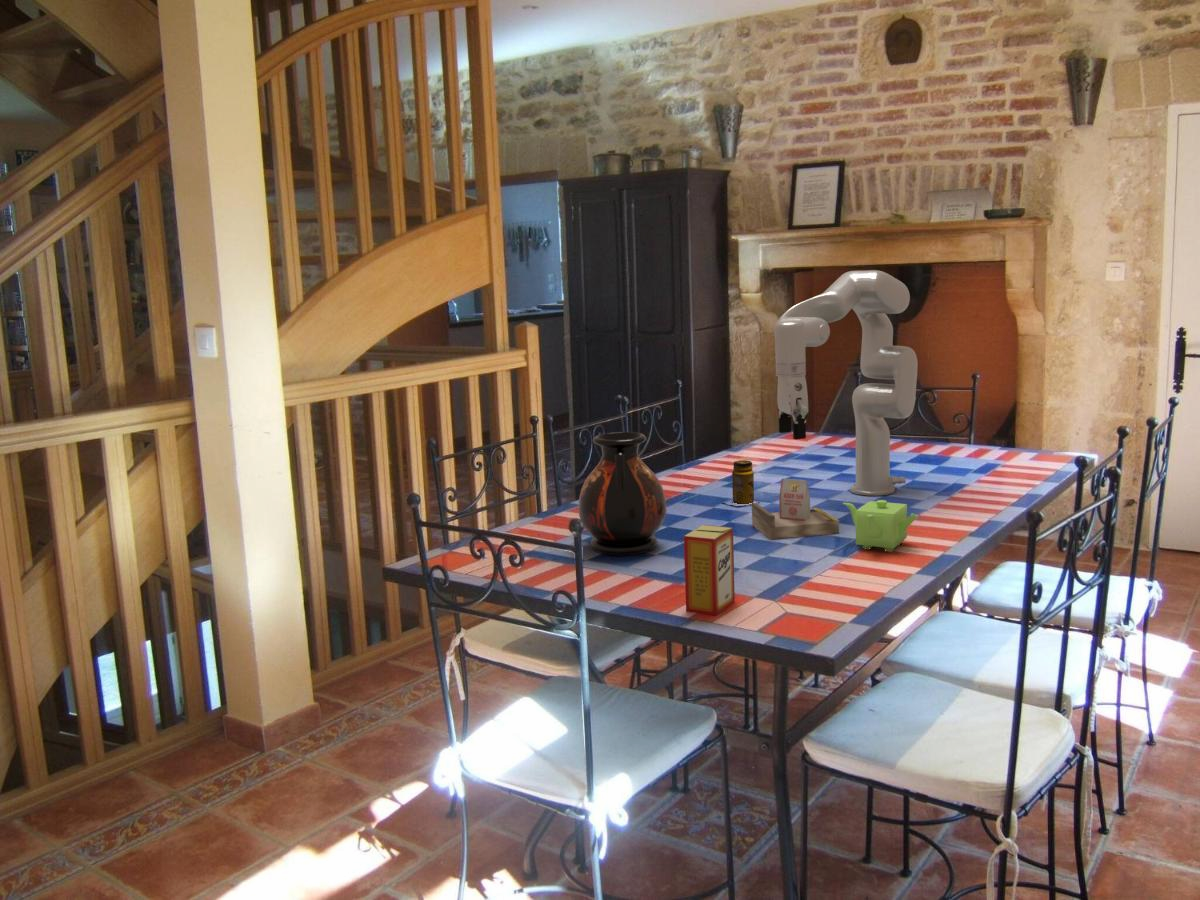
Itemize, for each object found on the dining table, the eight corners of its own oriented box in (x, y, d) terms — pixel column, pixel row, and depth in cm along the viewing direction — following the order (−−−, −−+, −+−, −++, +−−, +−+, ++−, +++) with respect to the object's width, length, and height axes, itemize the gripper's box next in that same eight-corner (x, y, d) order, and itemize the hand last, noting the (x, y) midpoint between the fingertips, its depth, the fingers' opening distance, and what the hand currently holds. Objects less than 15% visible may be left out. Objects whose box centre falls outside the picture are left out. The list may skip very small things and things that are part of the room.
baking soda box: (715, 615, 206) (713, 537, 203) (686, 611, 209) (683, 534, 206) (734, 601, 214) (733, 525, 211) (705, 597, 217) (703, 522, 214)
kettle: (867, 558, 239) (867, 510, 237) (838, 542, 253) (838, 497, 251) (925, 550, 243) (926, 503, 241) (893, 536, 256) (893, 491, 254)
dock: (817, 519, 274) (817, 497, 273) (838, 533, 261) (838, 509, 260) (752, 525, 271) (751, 503, 270) (770, 539, 258) (770, 516, 257)
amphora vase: (582, 537, 268) (577, 430, 262) (666, 534, 267) (662, 426, 262) (578, 561, 246) (572, 445, 241) (669, 558, 246) (665, 442, 240)
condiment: (760, 503, 296) (759, 461, 294) (737, 508, 291) (737, 466, 289) (743, 498, 302) (742, 458, 300) (721, 503, 297) (720, 462, 295)
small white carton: (784, 515, 269) (784, 477, 267) (810, 517, 266) (809, 479, 264) (779, 518, 266) (779, 480, 264) (804, 520, 262) (804, 482, 261)
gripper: (818, 372, 257) (819, 440, 261) (791, 364, 274) (793, 428, 277) (789, 374, 256) (791, 442, 259) (764, 367, 272) (766, 431, 276)
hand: (792, 435), depth 268 cm, fingers open, 9 cm apart
